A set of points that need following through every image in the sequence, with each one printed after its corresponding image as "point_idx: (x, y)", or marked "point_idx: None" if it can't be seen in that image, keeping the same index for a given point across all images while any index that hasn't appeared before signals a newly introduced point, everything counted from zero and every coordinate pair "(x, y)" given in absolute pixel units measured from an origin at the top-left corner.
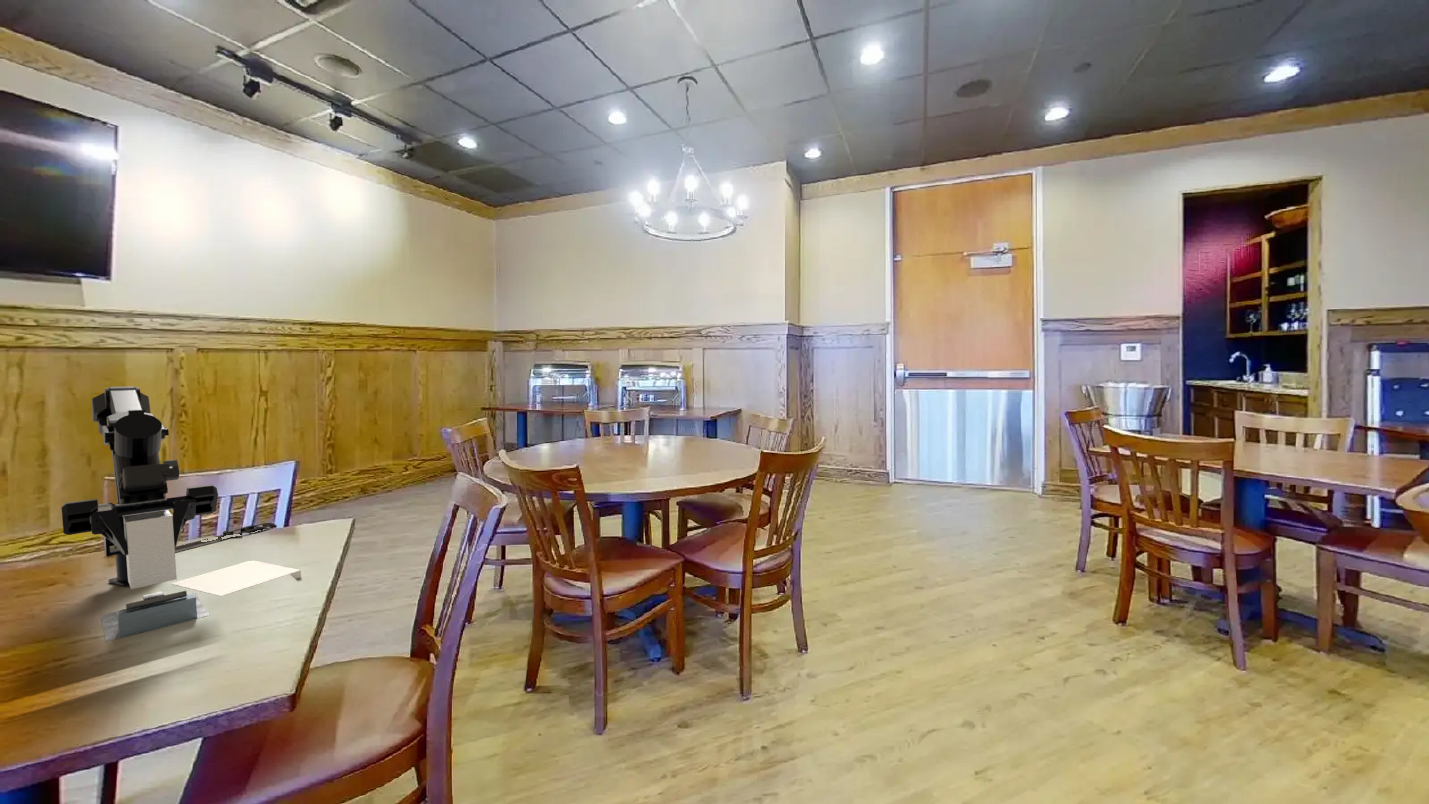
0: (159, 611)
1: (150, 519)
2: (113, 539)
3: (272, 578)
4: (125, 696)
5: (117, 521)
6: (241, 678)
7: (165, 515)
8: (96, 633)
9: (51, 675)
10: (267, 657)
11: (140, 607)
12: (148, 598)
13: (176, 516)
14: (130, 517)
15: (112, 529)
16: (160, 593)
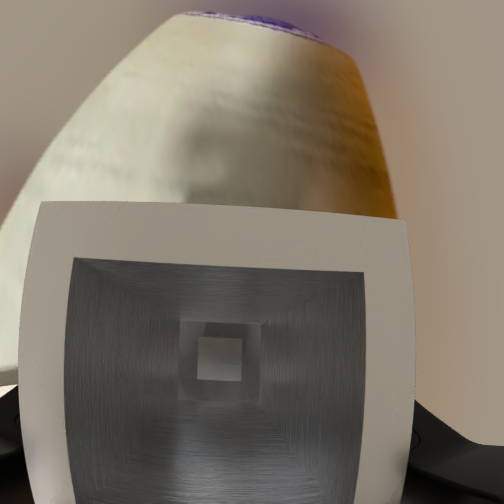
0: None
1: (213, 211)
2: None
3: (8, 390)
4: (285, 84)
5: (427, 464)
6: (190, 46)
7: (70, 257)
8: None
9: None
10: (150, 68)
11: None
12: (233, 338)
13: (18, 426)
14: (364, 470)
15: (426, 417)
16: (204, 359)
